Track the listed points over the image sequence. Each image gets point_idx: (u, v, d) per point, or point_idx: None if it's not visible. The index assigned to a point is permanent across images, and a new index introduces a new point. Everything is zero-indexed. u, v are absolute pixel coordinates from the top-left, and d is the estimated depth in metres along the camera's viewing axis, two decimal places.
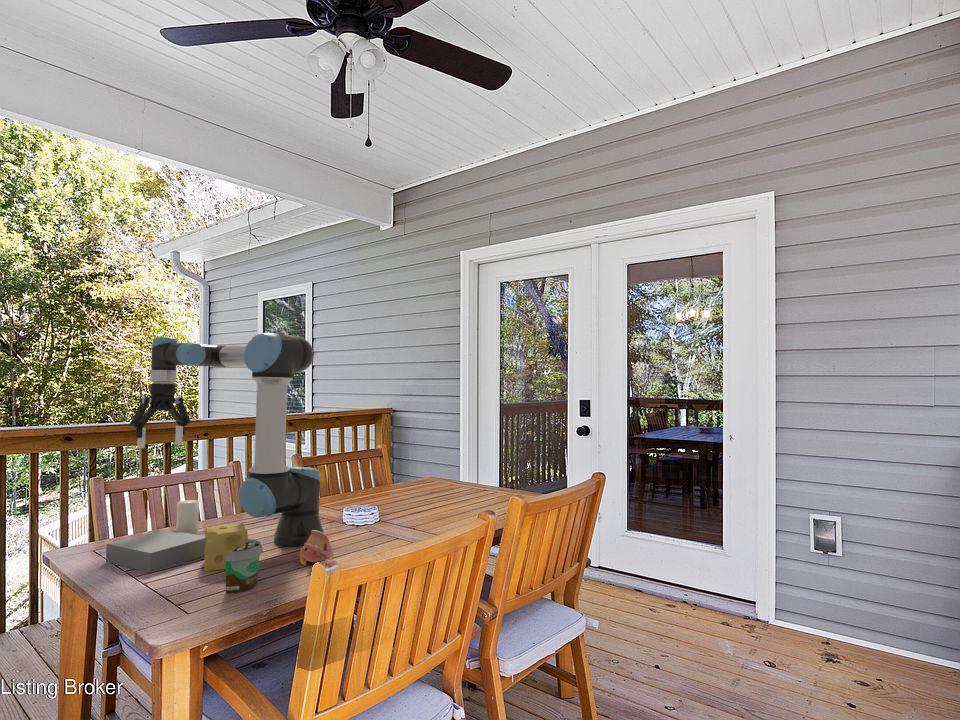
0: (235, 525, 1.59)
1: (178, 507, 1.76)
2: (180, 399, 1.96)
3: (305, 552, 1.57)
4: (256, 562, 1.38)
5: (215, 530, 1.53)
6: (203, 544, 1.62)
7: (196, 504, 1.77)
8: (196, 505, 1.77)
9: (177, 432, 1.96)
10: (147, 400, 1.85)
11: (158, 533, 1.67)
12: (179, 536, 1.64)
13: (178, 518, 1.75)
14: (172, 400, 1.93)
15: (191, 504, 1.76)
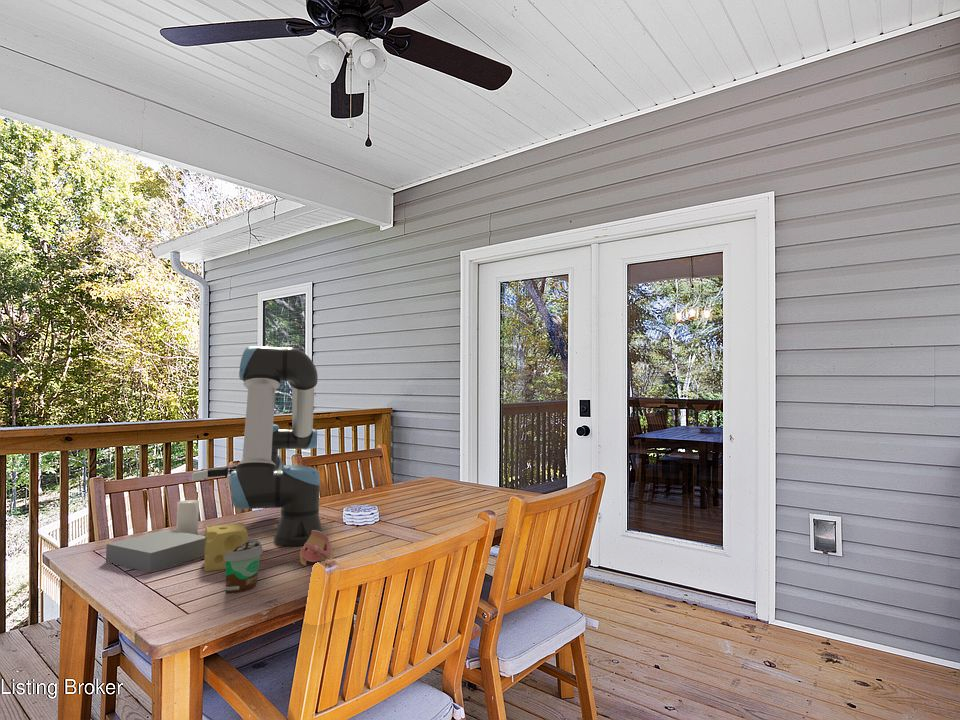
0: (235, 525, 1.59)
1: (178, 507, 1.76)
2: None
3: (305, 552, 1.57)
4: (256, 562, 1.38)
5: (215, 530, 1.53)
6: (203, 544, 1.62)
7: (196, 504, 1.77)
8: (196, 505, 1.77)
9: None
10: None
11: (158, 533, 1.67)
12: (179, 536, 1.64)
13: (178, 518, 1.75)
14: None
15: (191, 504, 1.76)
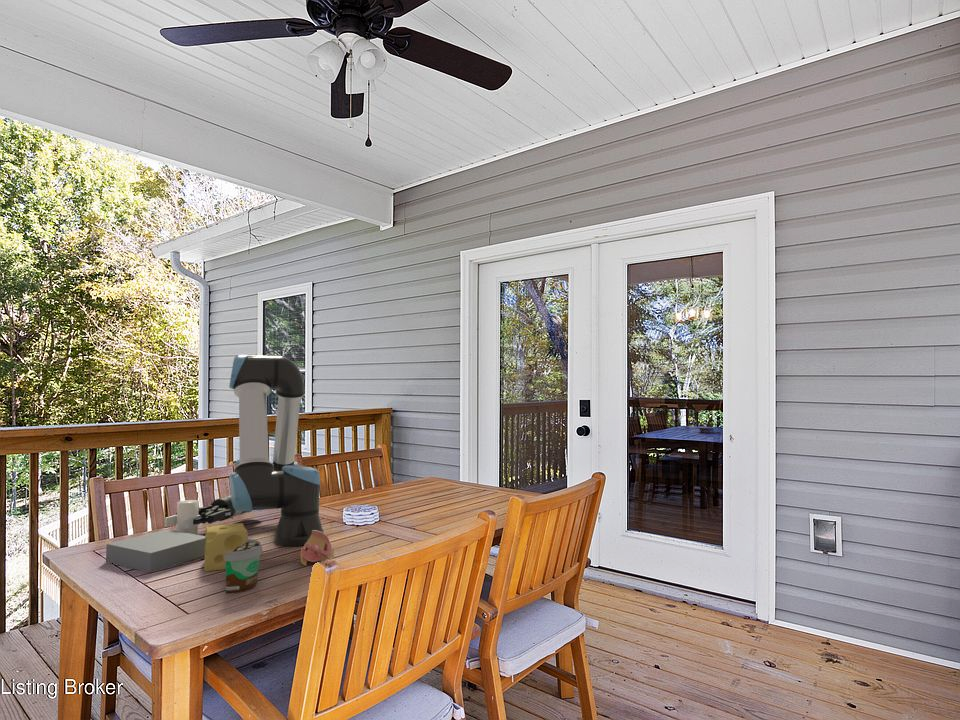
0: (235, 525, 1.59)
1: (178, 507, 1.76)
2: None
3: (305, 552, 1.57)
4: (256, 562, 1.38)
5: (215, 530, 1.53)
6: (203, 544, 1.62)
7: (196, 504, 1.77)
8: (196, 505, 1.77)
9: None
10: None
11: (158, 533, 1.67)
12: (179, 536, 1.64)
13: (178, 518, 1.75)
14: (222, 508, 1.89)
15: (191, 504, 1.76)
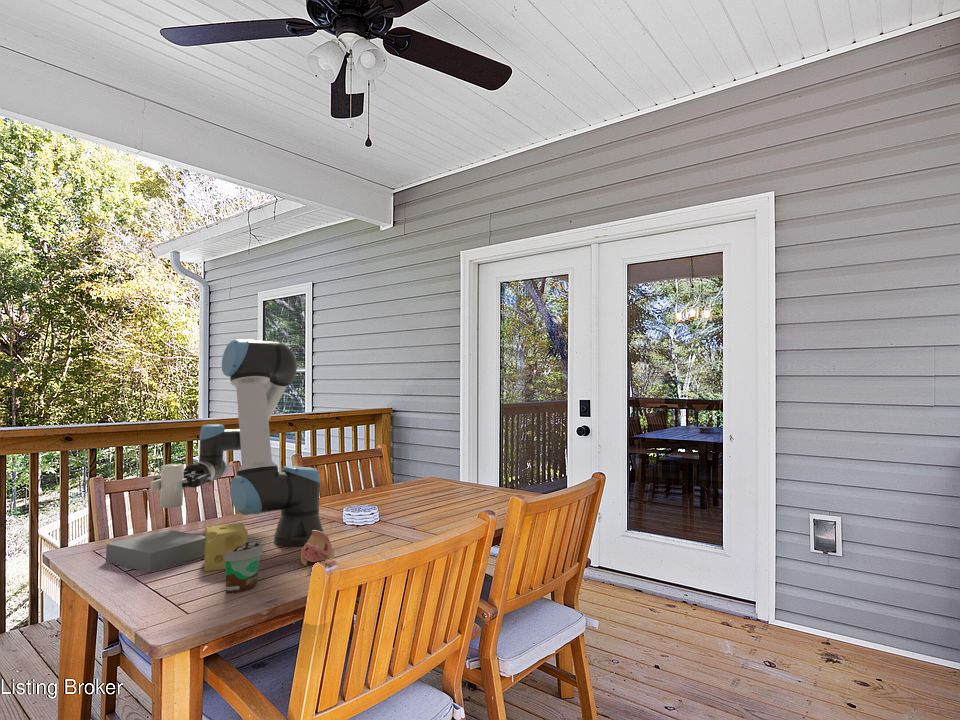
0: (235, 525, 1.59)
1: (164, 470, 1.67)
2: None
3: (306, 552, 1.57)
4: (256, 562, 1.38)
5: (215, 530, 1.54)
6: (203, 544, 1.62)
7: (183, 467, 1.70)
8: (183, 468, 1.70)
9: None
10: None
11: (158, 533, 1.67)
12: (179, 536, 1.64)
13: (164, 482, 1.67)
14: (199, 473, 1.82)
15: (179, 467, 1.68)
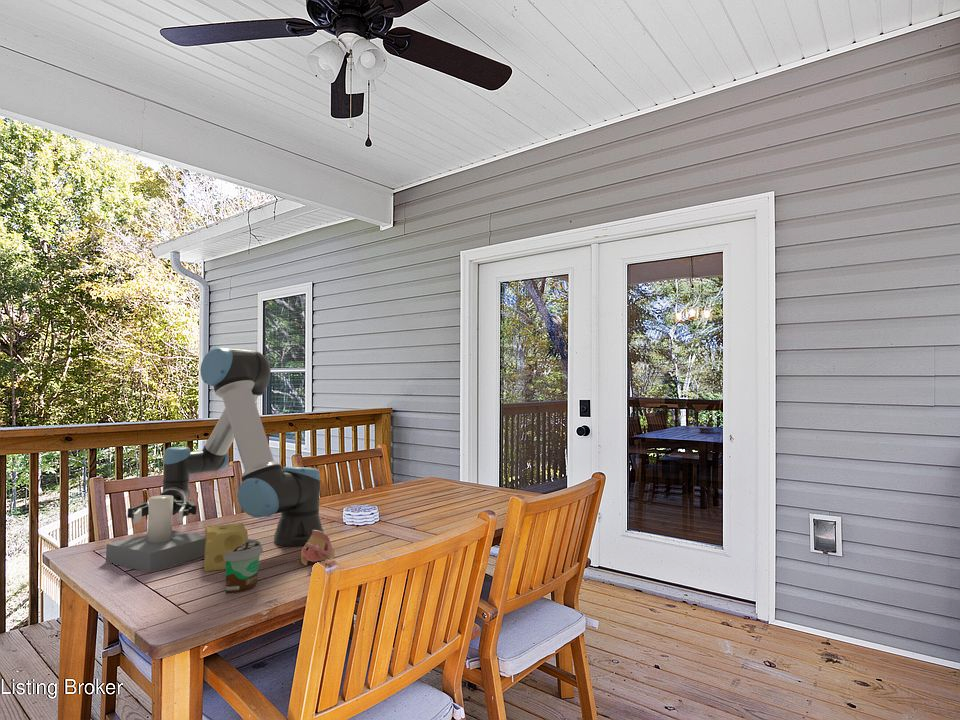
0: (235, 525, 1.59)
1: (154, 503, 1.57)
2: (189, 500, 1.73)
3: (306, 552, 1.57)
4: (256, 562, 1.38)
5: (215, 530, 1.54)
6: (203, 544, 1.62)
7: None
8: None
9: None
10: (144, 502, 1.69)
11: None
12: (179, 536, 1.64)
13: (155, 516, 1.57)
14: (178, 501, 1.72)
15: (170, 498, 1.60)
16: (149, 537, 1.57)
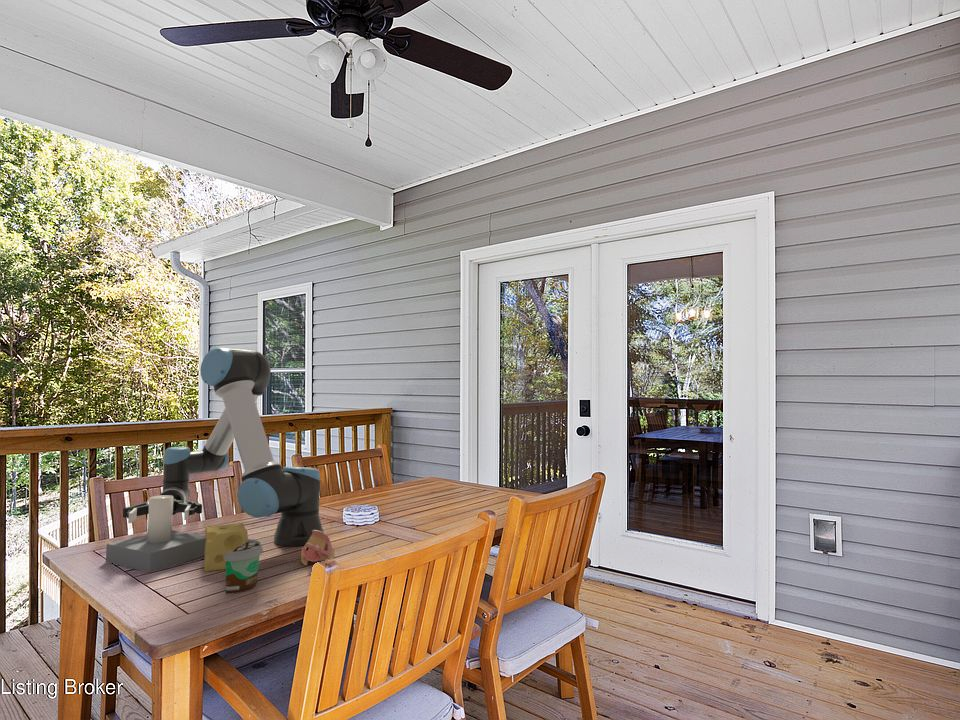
0: (235, 525, 1.59)
1: (154, 503, 1.57)
2: (189, 500, 1.74)
3: (306, 552, 1.57)
4: (256, 562, 1.38)
5: (215, 530, 1.54)
6: (203, 544, 1.62)
7: None
8: None
9: None
10: (144, 502, 1.69)
11: None
12: (179, 536, 1.64)
13: (155, 516, 1.57)
14: None
15: (170, 498, 1.60)
16: (149, 537, 1.57)
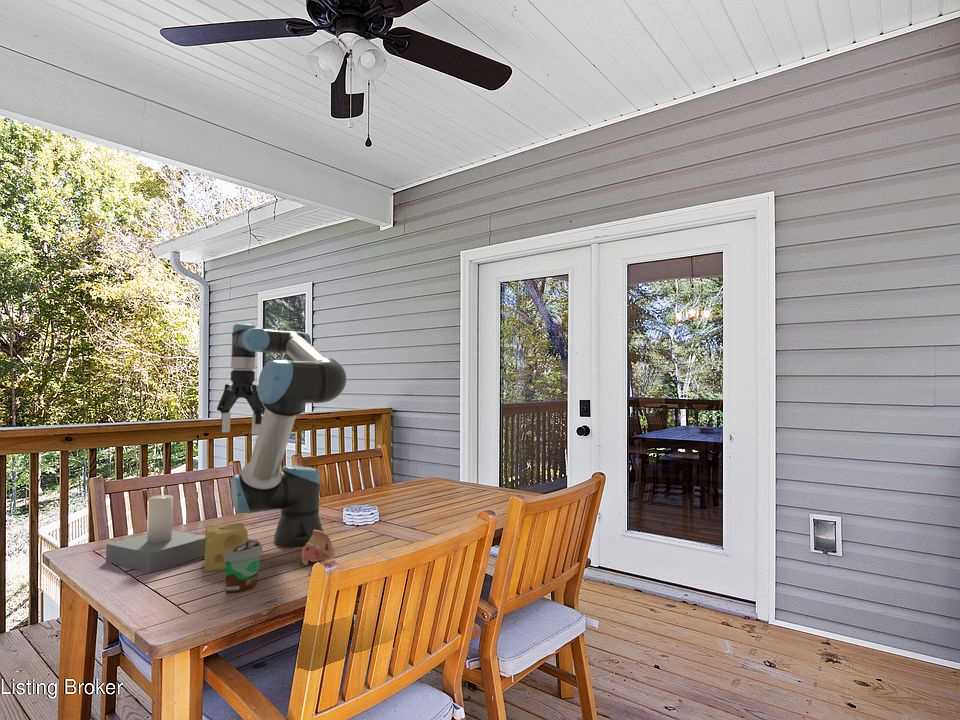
0: (235, 525, 1.59)
1: (154, 503, 1.57)
2: (252, 386, 1.88)
3: (307, 552, 1.57)
4: (256, 562, 1.38)
5: (215, 530, 1.54)
6: (203, 544, 1.62)
7: None
8: None
9: None
10: (225, 386, 1.93)
11: None
12: (179, 536, 1.64)
13: (155, 516, 1.57)
14: (246, 387, 1.89)
15: (170, 498, 1.60)
16: (149, 537, 1.57)
